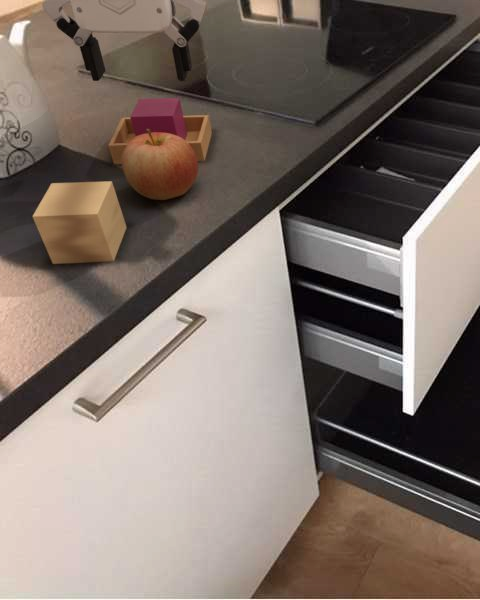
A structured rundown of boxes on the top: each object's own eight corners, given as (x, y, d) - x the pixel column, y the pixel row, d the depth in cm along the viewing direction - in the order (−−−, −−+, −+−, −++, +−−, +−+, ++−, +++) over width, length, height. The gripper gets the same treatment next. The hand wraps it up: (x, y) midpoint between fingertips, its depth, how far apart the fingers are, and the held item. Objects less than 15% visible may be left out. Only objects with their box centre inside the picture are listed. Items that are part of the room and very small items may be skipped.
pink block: (140, 154, 82) (129, 116, 78) (148, 135, 85) (138, 98, 82) (181, 153, 82) (172, 115, 79) (187, 134, 86) (179, 97, 82)
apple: (116, 196, 76) (96, 133, 70) (170, 168, 81) (155, 107, 75) (162, 220, 72) (144, 155, 67) (216, 189, 77) (203, 126, 72)
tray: (114, 165, 81) (107, 145, 79) (127, 137, 86) (121, 117, 85) (205, 162, 82) (200, 142, 80) (212, 134, 87) (208, 114, 86)
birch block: (53, 265, 66) (32, 216, 62) (70, 231, 71) (51, 183, 67) (114, 263, 67) (97, 213, 63) (127, 228, 71) (112, 180, 67)
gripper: (1, -83, 63) (56, 89, 74) (186, -78, 64) (212, 89, 76) (27, -99, 68) (74, 64, 80) (197, -94, 70) (219, 64, 81)
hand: (141, 76), depth 78 cm, fingers open, 9 cm apart
